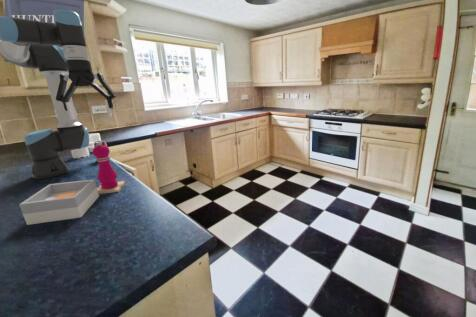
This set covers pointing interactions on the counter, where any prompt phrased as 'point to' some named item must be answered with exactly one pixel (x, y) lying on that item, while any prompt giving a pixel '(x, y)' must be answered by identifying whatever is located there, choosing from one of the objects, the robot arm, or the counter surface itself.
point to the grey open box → (60, 202)
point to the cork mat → (111, 190)
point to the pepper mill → (105, 167)
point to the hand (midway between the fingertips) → (92, 118)
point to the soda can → (101, 142)
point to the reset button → (65, 195)
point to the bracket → (85, 151)
